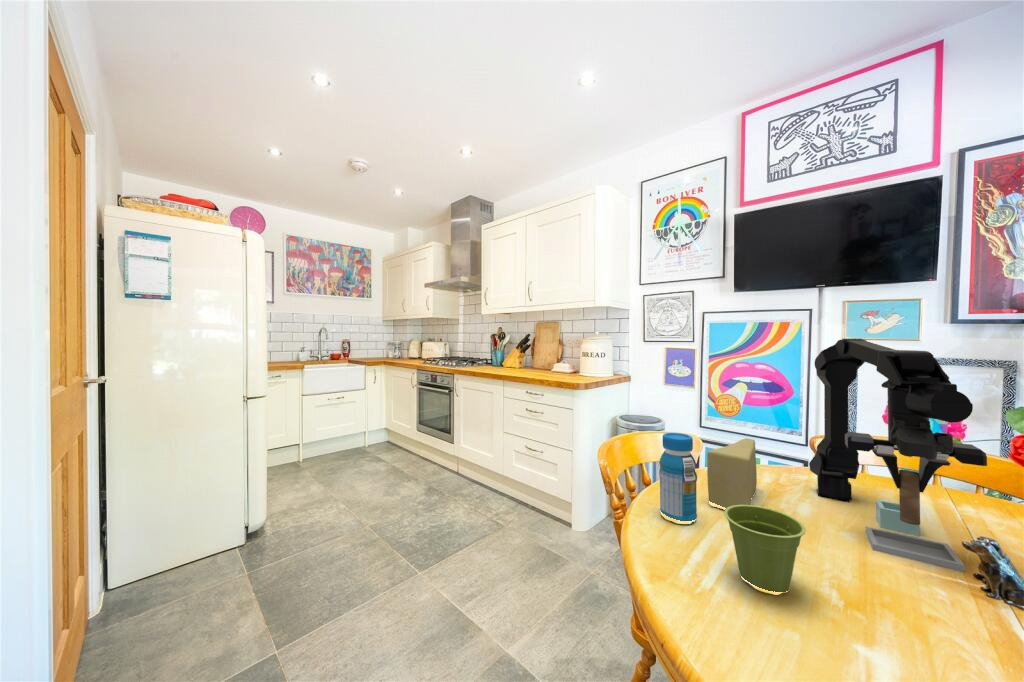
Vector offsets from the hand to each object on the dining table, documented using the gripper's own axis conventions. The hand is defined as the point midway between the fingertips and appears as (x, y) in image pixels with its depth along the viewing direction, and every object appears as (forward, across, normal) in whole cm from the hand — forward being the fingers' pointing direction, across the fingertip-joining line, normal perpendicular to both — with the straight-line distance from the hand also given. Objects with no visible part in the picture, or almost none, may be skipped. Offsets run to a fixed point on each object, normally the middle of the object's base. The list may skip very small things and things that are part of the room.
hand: (909, 489), depth 74 cm
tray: (+13, 0, 0) cm, 13 cm away
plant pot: (+13, -23, -29) cm, 39 cm away
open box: (+13, 0, +12) cm, 17 cm away
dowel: (+6, 0, 0) cm, 6 cm away
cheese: (+13, -30, +10) cm, 34 cm away
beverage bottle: (+13, -41, -12) cm, 45 cm away
